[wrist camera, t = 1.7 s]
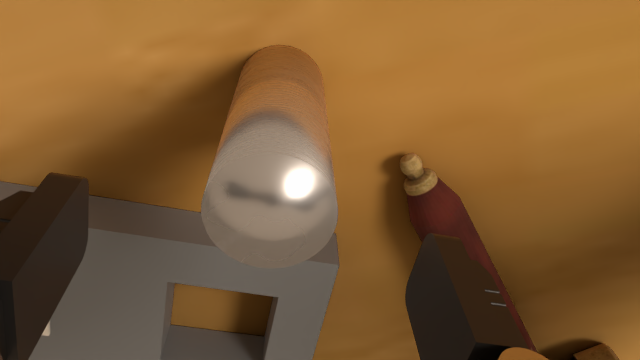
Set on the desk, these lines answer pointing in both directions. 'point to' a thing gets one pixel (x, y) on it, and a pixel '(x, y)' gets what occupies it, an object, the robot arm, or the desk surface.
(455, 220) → the gavel
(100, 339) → the pin board
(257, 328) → the desk surface
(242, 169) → the steel pin
